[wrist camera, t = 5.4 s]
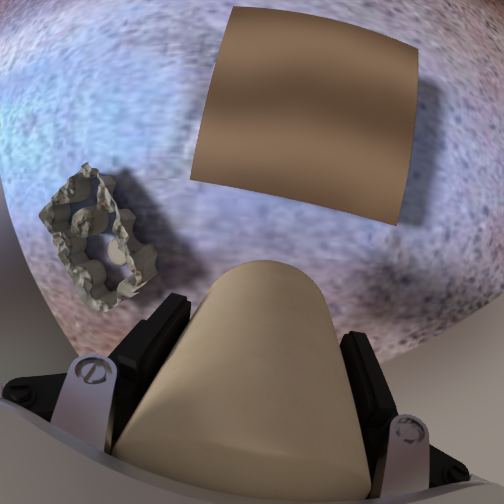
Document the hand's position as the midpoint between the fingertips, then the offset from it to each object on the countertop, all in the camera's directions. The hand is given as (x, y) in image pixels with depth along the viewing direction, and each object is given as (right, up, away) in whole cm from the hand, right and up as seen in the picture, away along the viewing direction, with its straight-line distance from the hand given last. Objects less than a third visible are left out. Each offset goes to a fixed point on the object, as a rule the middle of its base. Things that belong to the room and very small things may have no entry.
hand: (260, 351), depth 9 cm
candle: (0, +1, +3) cm, 3 cm away
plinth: (+4, +13, +7) cm, 15 cm away
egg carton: (-12, +5, +12) cm, 18 cm away
